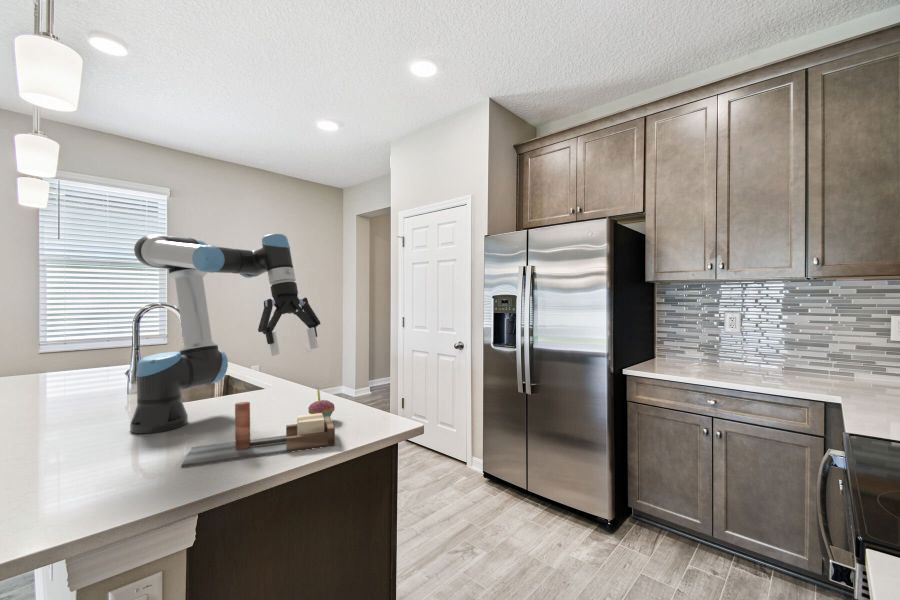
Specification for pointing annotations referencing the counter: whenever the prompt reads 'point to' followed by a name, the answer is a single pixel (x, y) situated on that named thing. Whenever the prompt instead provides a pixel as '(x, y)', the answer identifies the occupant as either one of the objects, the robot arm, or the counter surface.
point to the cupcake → (321, 407)
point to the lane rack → (262, 446)
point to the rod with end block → (242, 439)
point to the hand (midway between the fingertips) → (296, 351)
